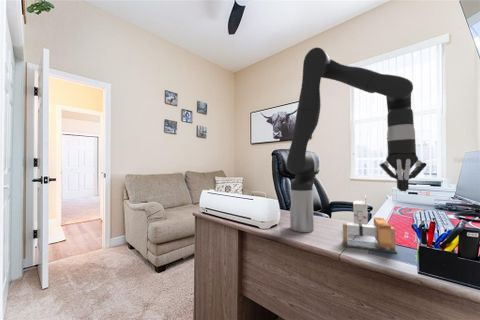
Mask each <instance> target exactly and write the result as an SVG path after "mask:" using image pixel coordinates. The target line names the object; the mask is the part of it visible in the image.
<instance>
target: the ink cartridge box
mask: <svg viewBox="0 0 480 320" xmlns="http://www.w3.org/2000/svg"><path fill="white" fill-rule="evenodd" d="M352 206H353V207H352V208H353V223H354V224H358V223H360V224H366V225H369V223H368V200H367V194H365V195H364V200H354V201H353V203H352Z"/></svg>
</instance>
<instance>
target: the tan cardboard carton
mask: <svg viewBox="0 0 480 320" xmlns="http://www.w3.org/2000/svg"><path fill="white" fill-rule="evenodd" d="M373 225H377V226H378V237H374V238H375V240H376V241H377V242H376V243H378V244H379V246H380V247H387V248H392V242H391V227H392V226H391V225H390V223H389V222H387V220H386V219H385V218H383V217H373Z"/></svg>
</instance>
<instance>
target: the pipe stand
mask: <svg viewBox="0 0 480 320" xmlns="http://www.w3.org/2000/svg"><path fill="white" fill-rule="evenodd" d="M348 235H354V236H355V235H356V236H359V237H364V236H365V237H373V238H375V237H378V226H377V225H374V224H368V225H366V224H360V223H358V224H354V222H353V223H351V222H342V245H343V247H345V248H350V249H351V248H352V249H359V250H366V251H367V250H368V251H375V252H384V253H391V254H398V251H397V249H396V229H395V228H394V227H393V226H391V242H392V248H387V247H380V246H379V244H378V242H373V241H372V242H371V241H362V240H361V241H360V240H352V239H348Z"/></svg>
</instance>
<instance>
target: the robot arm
mask: <svg viewBox="0 0 480 320" xmlns="http://www.w3.org/2000/svg"><path fill="white" fill-rule="evenodd" d="M302 65H303V67H302V77H301V78H302V79H301V80H302V81H301V88H300V94H299V99H298V104H297V110H296V115H295V122H294V128H293V134H292V140H291V143H290V147H289V150H288V155H287V159H286V167H287V170H288V171H289V173H291V174H293V175H295V177H294V180H293V181H291V183H290V207H289V215H290V217H289V219H290V224H289V225H290V231H295V232H300V233H312V232H314V226H315V225H314V198H313V197H314V194H313V186H314V184H315V160H314V159H313V157H312V155H311V154H309V153H307V148H308V143H309V141H310V139H311V137H312V135H313V134H314V132H315V130H316V128H317V126H318V124H319V119H320V113H321V105H322V104H321V90H320V88H321V80H322V79H327V80H328V79H329V80H334V81H336V82H339V83H342V84H345V85H348V86H350V87H353V88H355V89H358V90H360V91H364V92H366V93H368V94H369V93H370V94H375V93H376V94H379V95H383V96H384V97H386V98H385V99H386V108H387V116H386V117H387V119H386V120H387V124H386V125H387V132H386V141H387V142H386V143H387V156H386V157H385V158H386V159H385V161H384V162H382V163H379V167H380V168H381V169H382V170H383V171H384V172H385V173H386V174H387V175H388V176H389V178H393V179H395V180H396V188H397V190H399V192H407V191H408V190H409V184H410V183H409V180H411V179H415V178H417V176H418V175H419V174H420V173H421V172H422V171H423V170H424V168H426V166H427V164H428V163H426V162H423V161H421V160H419V157H418V155H417V149H416V147H417V145H416V130H415V126H414V123H415V122H414V112H413V109H412V93H413V90H414V85H413V82H412V81H411V80H410V79H408V78H406V77H403V76H399V75H393V74H386V73H385V74H384V73H381V72H378V71H374V70H372V69H369V68H365V67H361V66H351V65H350V66H349V65H344V64H342V63H339V62H337V61H335V60H334V59H332V58H330V56H329V54H328V53H327V52H326V50H324V49H323V48H321V47H313V48H311V49H310V50H309V51H308V52H307V53H306V55H304V59H303V64H302ZM389 165H390V166H391V167H392V169H394V172H393V171H392V170H391V169H390V166H389ZM414 166H415V168H414V169H413V170H411V169H412V168H413V167H414ZM410 171H411V172H410Z"/></svg>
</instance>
